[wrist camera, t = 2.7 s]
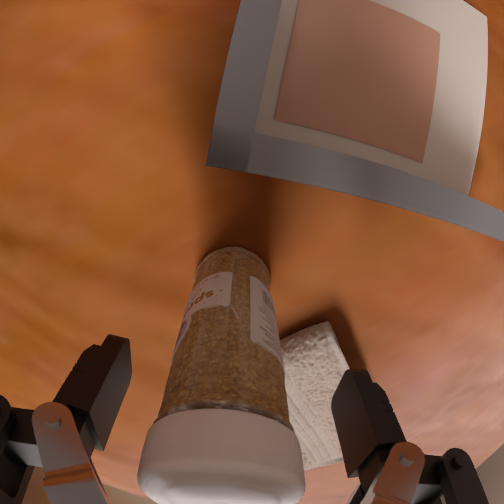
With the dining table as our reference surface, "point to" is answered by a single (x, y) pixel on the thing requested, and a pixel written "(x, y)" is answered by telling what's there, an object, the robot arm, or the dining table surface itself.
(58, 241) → the dining table surface
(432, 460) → the robot arm
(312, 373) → the washcloth
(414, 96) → the arena
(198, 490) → the sprinkles bottle
